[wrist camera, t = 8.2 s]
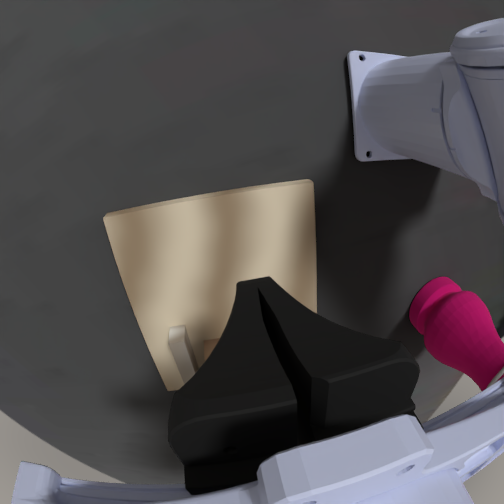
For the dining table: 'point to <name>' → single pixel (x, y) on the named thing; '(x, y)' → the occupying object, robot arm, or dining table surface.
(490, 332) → the pepper mill
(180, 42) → the dining table surface
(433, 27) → the dining table surface
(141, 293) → the board
